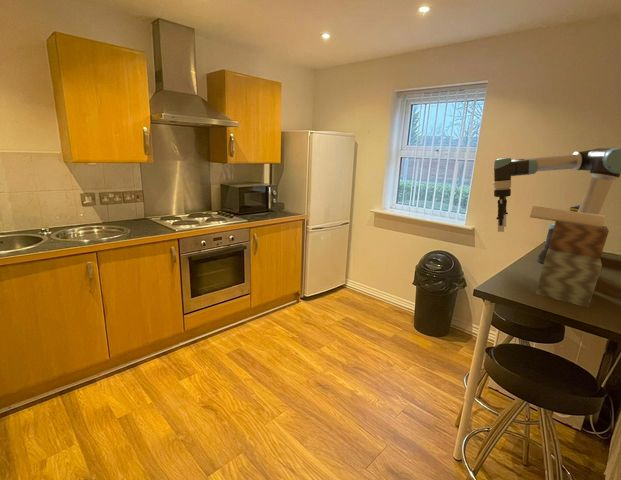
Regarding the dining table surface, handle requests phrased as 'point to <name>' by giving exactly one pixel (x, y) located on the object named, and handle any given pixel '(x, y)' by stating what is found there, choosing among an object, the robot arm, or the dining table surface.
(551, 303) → the dining table surface
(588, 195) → the robot arm
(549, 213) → the white long bar
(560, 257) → the two-tone wood block
